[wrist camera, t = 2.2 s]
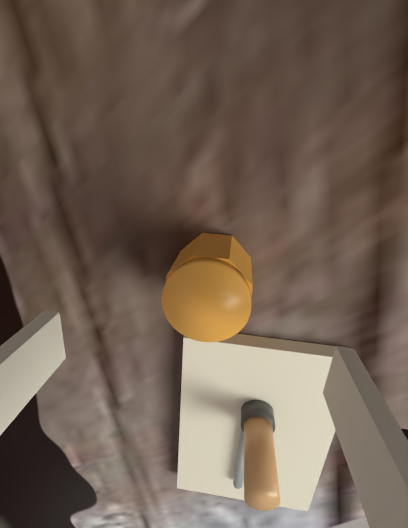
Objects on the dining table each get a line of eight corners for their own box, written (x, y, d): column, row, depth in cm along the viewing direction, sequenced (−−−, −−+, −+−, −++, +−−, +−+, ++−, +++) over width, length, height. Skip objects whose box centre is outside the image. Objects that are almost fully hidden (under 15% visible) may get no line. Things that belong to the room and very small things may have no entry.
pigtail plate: (186, 327, 25) (161, 408, 17) (352, 348, 24) (405, 445, 16) (179, 473, 33) (160, 575, 25) (304, 495, 31) (325, 610, 24)
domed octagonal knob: (182, 230, 22) (161, 258, 16) (253, 237, 21) (256, 268, 16) (179, 293, 24) (161, 336, 18) (244, 300, 23) (245, 347, 18)
